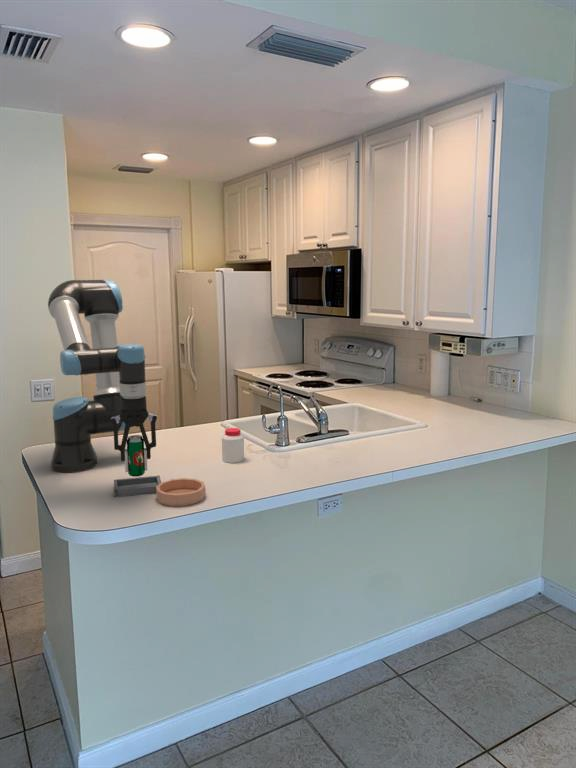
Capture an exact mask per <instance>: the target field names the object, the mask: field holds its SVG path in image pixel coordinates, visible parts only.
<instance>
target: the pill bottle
mask: <svg viewBox="0 0 576 768" xmlns="http://www.w3.org/2000/svg"><path fill="white" fill-rule="evenodd" d="M221 453H222V454H221V458H222V459H221V460H222V462H224V463H227V462H229V464H236V462H238V463H241V462H243V461H245V436H244V435H243V434H242V433H241V429H240V428H238V427H229V428H225V429H224V434H223V435H222V437H221Z"/></svg>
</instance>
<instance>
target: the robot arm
mask: <svg viewBox="0 0 576 768" xmlns="http://www.w3.org/2000/svg"><path fill="white" fill-rule="evenodd" d="M123 304H124V303H123V297H122V293H121V290H120V286H119V285H118V284H117V282H116V281H114V280H111V279H107V280H106V279H85V280H84V279H80V280H79V279H77V280H76V279H71V280H67V281H64V282H61V283H60V284H59V285H57V286H56V287H55V288H54V289H53V290H52V292H51V293H50V294H49V298H48V300H47V307H48V312H49V315H50V316H51V317H52V318H53V319H54V320H55V324H56V328H57V331H58V334H59V338H60V342H61V344H62V347H63V350H62V351H61V352H60V354H59V364H60V370H61V372H62V375H65V376H83V375H94V374H95V383H96V390H95V391H96V392H95V393H94V394H93V395H92V397H93V400H89V398H88V397H86V396H75V397H70V398H65V399H62V400H59V401H58V402H56V403H55V404H54V405H53V407H52V420H53V430H54V431H53V432H54V433H53V434H54V448H53V453H52V458H51V461H50V465H51V470H53V471H55V472H59V473H74V472H82V471H87V470H90V469H93V468H95V467H96V466H97V465H98V463H99V462H98V456H97V453H96V451H95V449H94V446H93V444H92V437H91V435H95V434H105V433H113V446H114V451H119V452H120V460H121V462H125V463H124V466H125V467H124V468H125V473H128V457H127V439H128V437H129V434H130V433H129V432H130V430H131V428H133V427H136V428H137V427H138V428H139V430H140V433H141V436H142V438H143V439H144V463H145V472H146V471H148V460H151V456H152V455H151V449H153V448H156V446H157V436H156V435H157V431H156V422H157V419H158V417H157V414H155V413H149V411H148V410H147V397H146V396H145V395H146V394H147V389H146V388H147V386H146V361H145V360H146V355H145V348H144V346H143V344H140V343H139V344H138V343H127V344H126V343H125V344H121V345H118V337H117V329H116V328H117V327H116V321H117V319H118V318H119V317H120V316H119V315H120V313H122V311H123ZM81 314H83V315H84V320H85V321H86V322H88V323H89V328H90V337H91V338H90V339H91V345H92V348H91V346H90V342H89V340H88V338H87V334H86V332H85V329H84V326H83V324H82V320H81V318H80V315H81ZM147 419H148V420H149V422H150V432H151V433H150V436H151V442H149V439H148V435H147V432H146V429H145V426H144V423H145V422H146V421H147ZM120 431H121V432H122V431H123V435H122V439H121V442H120V443H121V444H119V432H120Z"/></svg>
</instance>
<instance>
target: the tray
mask: <svg viewBox="0 0 576 768" xmlns="http://www.w3.org/2000/svg"><path fill="white" fill-rule="evenodd" d="M160 483H162V481H161V476H160V475H150V476H138V477H129V478H118V479H113V496H114V498H117V497H129V496H139V495H148V494H156V486H158V485H159V484H160Z"/></svg>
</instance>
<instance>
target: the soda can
mask: <svg viewBox="0 0 576 768" xmlns="http://www.w3.org/2000/svg"><path fill="white" fill-rule="evenodd" d="M144 448H145V443H144V439H143V436H142V434H141V435H139V434H134V435H133V434H132V435H128V438H127V442H126V449H127V457H128V472H127V474H128V475H129V476H130V477H132V478H138V477H143V475H145V473H146V471H145V463H144Z"/></svg>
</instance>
